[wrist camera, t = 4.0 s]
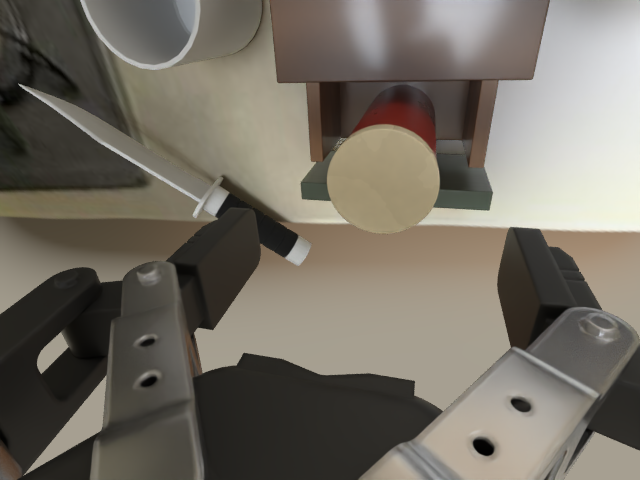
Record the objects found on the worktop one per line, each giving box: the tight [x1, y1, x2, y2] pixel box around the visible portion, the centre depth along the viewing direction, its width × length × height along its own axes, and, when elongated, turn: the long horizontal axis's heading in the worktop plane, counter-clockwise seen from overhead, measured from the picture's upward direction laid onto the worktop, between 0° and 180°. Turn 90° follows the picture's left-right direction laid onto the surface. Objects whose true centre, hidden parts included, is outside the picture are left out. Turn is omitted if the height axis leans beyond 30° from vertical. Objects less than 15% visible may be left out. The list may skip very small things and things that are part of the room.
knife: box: [19, 84, 311, 266], centre depth 32 cm, size 26×2×5 cm, turn 56°
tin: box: [327, 85, 440, 234], centre depth 21 cm, size 5×5×12 cm
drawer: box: [301, 80, 499, 211], centre depth 25 cm, size 10×11×7 cm
